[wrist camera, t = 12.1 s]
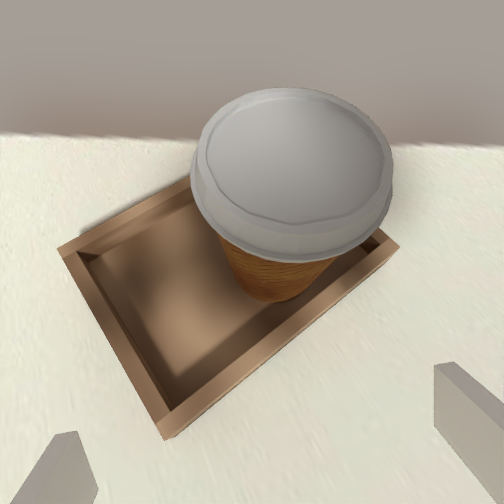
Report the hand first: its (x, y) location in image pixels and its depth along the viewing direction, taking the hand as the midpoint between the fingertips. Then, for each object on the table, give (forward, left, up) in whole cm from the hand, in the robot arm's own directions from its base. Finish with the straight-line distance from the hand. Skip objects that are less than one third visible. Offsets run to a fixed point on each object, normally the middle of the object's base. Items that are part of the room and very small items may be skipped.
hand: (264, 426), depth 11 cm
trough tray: (-5, -10, -10) cm, 15 cm away
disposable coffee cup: (-8, -8, -9) cm, 14 cm away
